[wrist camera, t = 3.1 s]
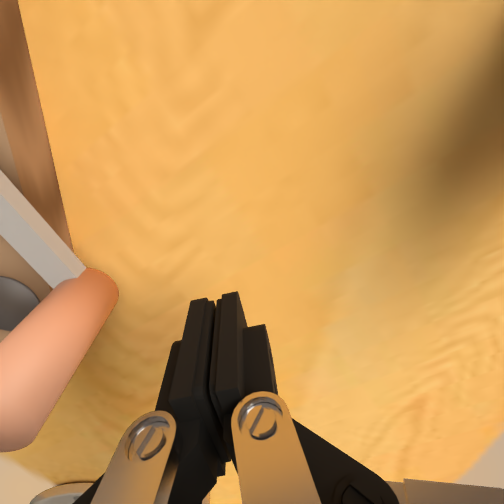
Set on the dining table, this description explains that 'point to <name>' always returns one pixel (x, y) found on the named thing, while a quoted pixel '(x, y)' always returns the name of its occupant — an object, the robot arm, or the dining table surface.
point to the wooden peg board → (23, 167)
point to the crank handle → (45, 322)
